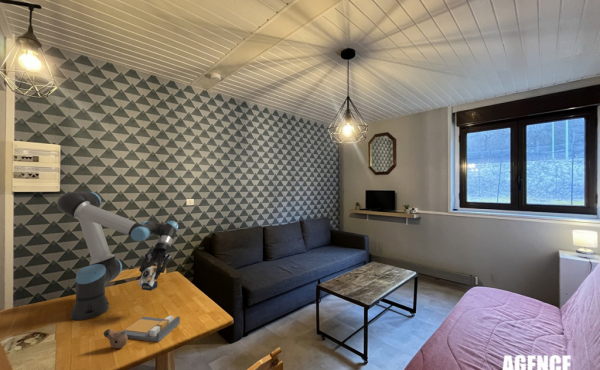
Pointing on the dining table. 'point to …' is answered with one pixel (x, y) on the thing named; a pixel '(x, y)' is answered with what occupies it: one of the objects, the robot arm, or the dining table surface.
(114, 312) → the dining table surface
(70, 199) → the robot arm
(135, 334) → the board
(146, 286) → the watch
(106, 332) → the oil lamp
